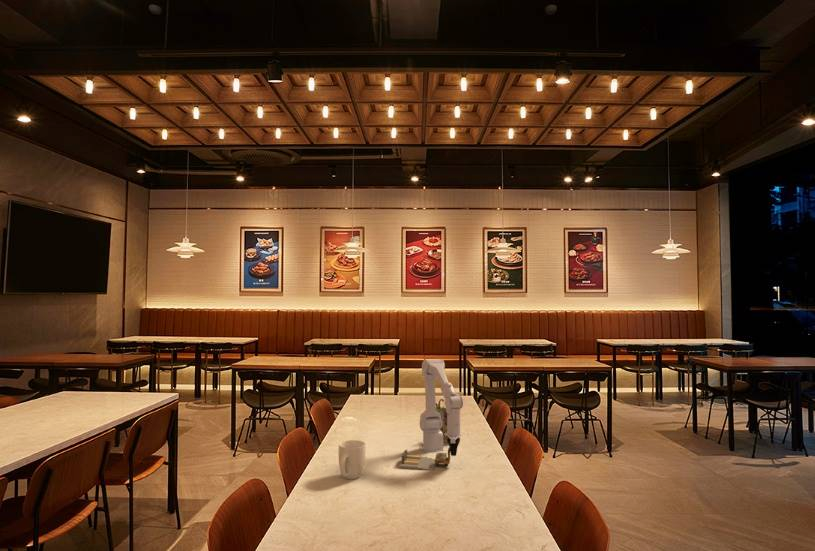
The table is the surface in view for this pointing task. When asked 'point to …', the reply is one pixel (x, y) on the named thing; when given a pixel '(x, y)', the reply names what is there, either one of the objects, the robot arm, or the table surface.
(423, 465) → the dock
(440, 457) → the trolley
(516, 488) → the table surface
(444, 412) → the coffee box
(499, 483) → the table surface
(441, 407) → the plant
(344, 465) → the mug
